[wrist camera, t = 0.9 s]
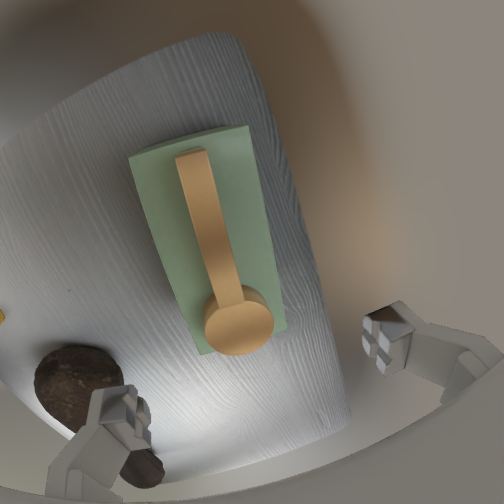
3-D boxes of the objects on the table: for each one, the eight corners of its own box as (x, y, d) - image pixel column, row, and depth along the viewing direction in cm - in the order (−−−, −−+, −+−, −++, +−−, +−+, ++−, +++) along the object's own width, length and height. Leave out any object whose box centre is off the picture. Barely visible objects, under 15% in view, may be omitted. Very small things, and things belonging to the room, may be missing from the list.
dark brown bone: (63, 323, 29) (134, 430, 43) (10, 385, 20) (109, 473, 35) (134, 351, 26) (188, 451, 41) (77, 436, 17) (165, 500, 32)
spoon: (150, 161, 15) (144, 167, 13) (229, 139, 16) (237, 142, 14) (212, 344, 21) (216, 366, 19) (271, 327, 22) (280, 347, 20)
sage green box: (145, 147, 22) (127, 157, 15) (228, 124, 23) (248, 125, 16) (193, 299, 29) (200, 355, 22) (262, 279, 30) (287, 330, 22)
